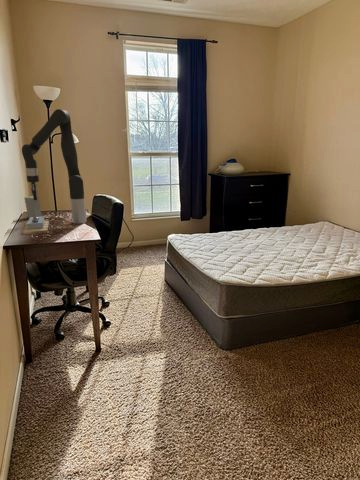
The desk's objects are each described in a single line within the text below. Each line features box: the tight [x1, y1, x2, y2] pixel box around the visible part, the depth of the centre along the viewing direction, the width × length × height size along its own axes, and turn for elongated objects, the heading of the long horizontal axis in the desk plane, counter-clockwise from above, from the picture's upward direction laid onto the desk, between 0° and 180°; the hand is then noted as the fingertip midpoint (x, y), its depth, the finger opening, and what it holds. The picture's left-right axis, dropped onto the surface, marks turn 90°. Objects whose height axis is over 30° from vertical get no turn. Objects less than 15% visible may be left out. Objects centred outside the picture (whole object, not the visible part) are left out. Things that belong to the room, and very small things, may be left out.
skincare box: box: [24, 195, 43, 219], centre depth 243 cm, size 8×7×16 cm
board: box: [22, 219, 50, 235], centre depth 213 cm, size 30×14×2 cm, turn 20°
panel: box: [26, 215, 46, 229], centre depth 214 cm, size 21×9×4 cm, turn 20°
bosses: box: [32, 217, 39, 223], centre depth 211 cm, size 12×4×5 cm, turn 20°
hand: (35, 200), depth 224 cm, fingers closed
